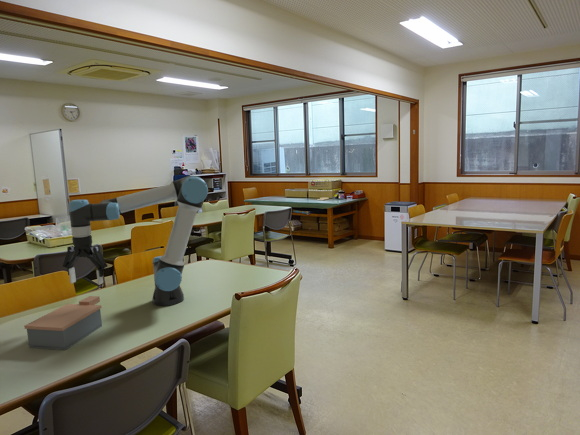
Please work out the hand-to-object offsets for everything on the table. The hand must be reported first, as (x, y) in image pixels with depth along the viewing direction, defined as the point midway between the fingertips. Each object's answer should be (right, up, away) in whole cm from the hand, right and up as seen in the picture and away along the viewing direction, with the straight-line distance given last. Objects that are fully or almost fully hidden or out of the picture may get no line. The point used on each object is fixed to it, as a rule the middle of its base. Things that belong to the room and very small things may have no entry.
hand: (86, 283), depth 181 cm
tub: (-2, -20, -12) cm, 23 cm away
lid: (-2, -13, -9) cm, 16 cm away
